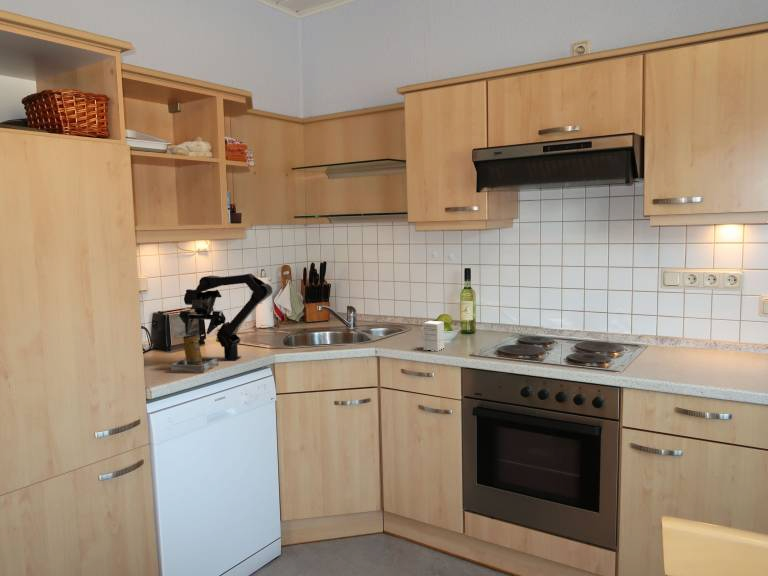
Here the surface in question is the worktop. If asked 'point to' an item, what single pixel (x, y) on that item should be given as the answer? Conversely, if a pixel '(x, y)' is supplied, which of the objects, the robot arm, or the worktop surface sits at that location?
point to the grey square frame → (194, 366)
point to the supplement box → (433, 335)
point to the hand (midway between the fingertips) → (196, 333)
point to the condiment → (192, 350)
